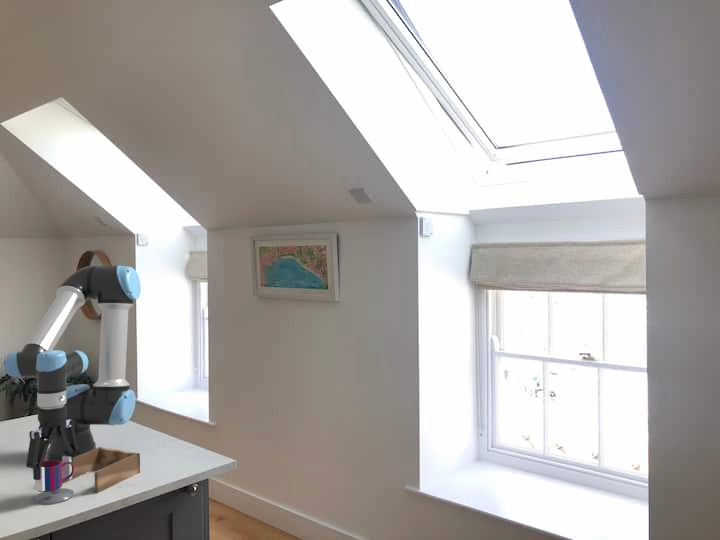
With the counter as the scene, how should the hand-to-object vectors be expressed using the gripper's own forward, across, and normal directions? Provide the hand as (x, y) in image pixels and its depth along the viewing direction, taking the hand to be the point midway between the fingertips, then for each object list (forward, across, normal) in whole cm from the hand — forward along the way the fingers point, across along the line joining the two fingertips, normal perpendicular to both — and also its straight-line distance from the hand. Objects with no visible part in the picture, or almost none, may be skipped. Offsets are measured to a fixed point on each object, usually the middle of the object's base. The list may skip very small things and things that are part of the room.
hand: (54, 484), depth 182 cm
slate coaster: (+4, 0, 0) cm, 4 cm away
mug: (+1, 0, 0) cm, 1 cm away
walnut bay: (+4, +16, -1) cm, 16 cm away
